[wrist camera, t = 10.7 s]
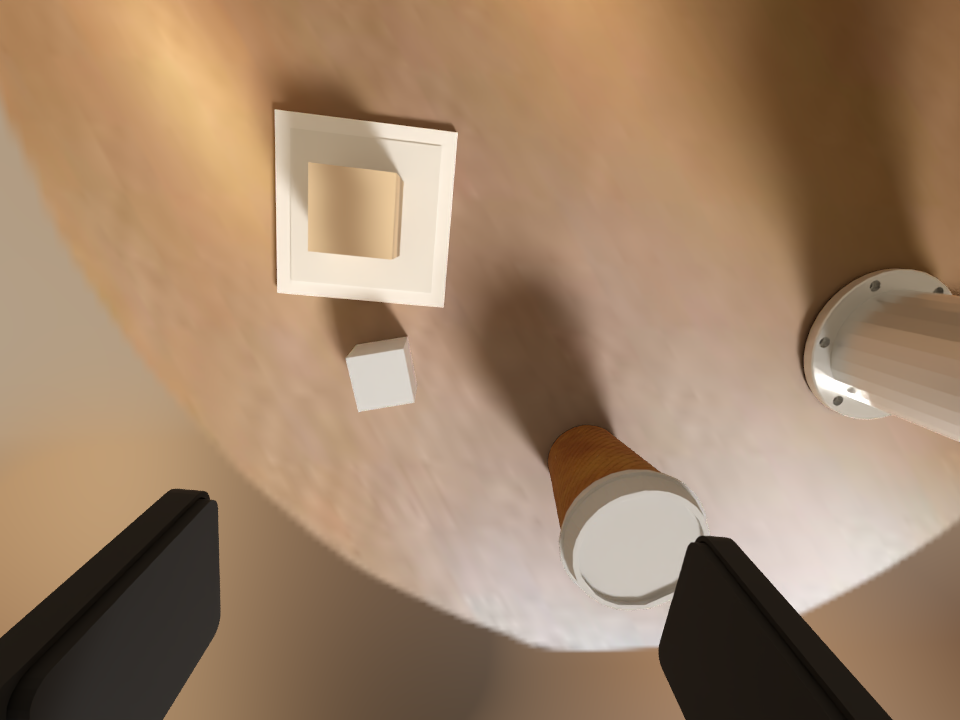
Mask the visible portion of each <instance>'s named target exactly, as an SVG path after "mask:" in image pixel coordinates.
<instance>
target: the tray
mask: <svg viewBox="0 0 960 720" xmlns="http://www.w3.org/2000/svg"><path fill="white" fill-rule="evenodd" d="M457 136H458V133H457V132H449V131H441V130H434V129H426V128H418V127H410V126H402V125H394V124H386V123H378V122H371V121H363V120H355V119H347V118H339V117H331V116H323V115H315V114H307V113H300V112H292V111H284V110H276V109H275V168H276V237H277V293H286V294H297V295H308V296H319V297H331V298H342V299H353V300H364V301H376V302H387V303H398V304H409V305H421V306H432V307H443V308H444V296H445V284H446V272H447V259H448V247H449V235H450V222H451V210H452V197H453V185H454V173H455V160H456V148H457ZM308 162H311V163H319V164H328V165H336V166H344V167H353V168H361V169H369V170H378V171H386V172H394V173H397V174H398V175H399V177H400V178H401V179H402V180H403V182H404V187H403V205H402V222H401V240H400V256H398V257H396V258H394V259H392V260H389V259H379V258H369V257H360V256H350V255H340V254H330V253H320V252H310V251H308Z"/></svg>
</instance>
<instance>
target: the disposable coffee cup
mask: <svg viewBox="0 0 960 720" xmlns="http://www.w3.org/2000/svg"><path fill="white" fill-rule="evenodd" d="M548 466H549V471H550V476H551V481H552V486H553V492H554V497H555V502H556V508H557V514H558V518H559V523H560V528H561V532H560V537H559V549H560V558H561V562H562V564H563V566H564V569H565V571H566V573H567V574H568V576H569V577H570V579H571V580H572V582H574V583H575V584H576V585H577V586H578V587H579V588H581V589H582V590H583V591H585V593H586V594H587V595H588V596H589V597H591V598H592V599H594V600H595V601H597V602H598V603H600V604H601V605H604V606H607V607H610V608H613V609H616V610H625V611H633V610H642V609H651V608H653V607H656V606H659V605H662V604H665V603H667V602H669V601H671V600H672V598H673V595H674V591H675V588H676V584H677V581H678V577H679V574H680V571H681V567H682V564H683V560H684V557H685V553H686V550H687V547H688V545H689V544H690V543H691V542H695V540H696V539H697V538H698V537H699V536H702V535H703V536H710V531H709V528H708V524H707V520H706V514H705V511H704V508H703V505H702V503H701V502H700V500H699V499H698V497H697V495H696V494H695V493H694V492H693V491H692V490H691V489H690V488H689V487H688V486H687V485H685V484H684V483H682V482H681V481H680V480H678V479H676V478H674V477H671V476H669V475H666V474H664V473H661V472H660V471H658V470H657V469H656V468H654V467H653V466H652V465H651V464H649V463H648V462H647V461H645V460H644V459H643V458H642V457H640V456H639V455H638V454H636V453H635V452H634V451H632V450H631V449H630V448H629V447H627V446H626V445H625V444H624V443H622V442H621V441H620V440H618V439H617V438H616V437H614V436H613V435H612V434H611V433H610V432H608V431H607V430H605V429H603V428H601V427H598V426H592V425H582V426H578V427H574V428H572V429H570V430H568V431H566V432H564V433H563V434H562V435H561V436H560V437H559V438H557V440H556V441H555V442H554V444H553V445H552V447H551V450H550V452H549V456H548Z"/></svg>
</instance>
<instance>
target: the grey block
mask: <svg viewBox="0 0 960 720" xmlns="http://www.w3.org/2000/svg"><path fill="white" fill-rule="evenodd" d="M346 362H347V367H348V371H349V375H350V379H351V383H352V387H353V391H354V396H355V400H356V404H357V408H358V412H361V411H367V410H373V409H379V408H385V407H391V406H397V405H403V404H409V403H414V401H415V396H416V390H417V380H416V375H415V370H414V365H413V360H412V355H411V350H410V345H409V340H408V336H407V337H400V338H394V339H388V340H382V341H376V342H369V343H363V344H357V345H355V347H354V348H353V349H352V351H351V352H350V353H349V354H348V356H347V357H346Z"/></svg>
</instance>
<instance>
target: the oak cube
mask: <svg viewBox="0 0 960 720" xmlns="http://www.w3.org/2000/svg"><path fill="white" fill-rule="evenodd" d="M403 187H404V182H403V180H402V179H401V178H400V177H399V175H398V174H397V173H394V172H386V171H378V170H369V169H361V168H353V167H344V166H336V165H328V164H319V163H311V162H308V251H310V252H320V253H330V254H340V255H350V256H360V257H369V258H379V259H389V260H392V259H394V258H396V257H398V256H400V240H401V222H402V205H403Z"/></svg>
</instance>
